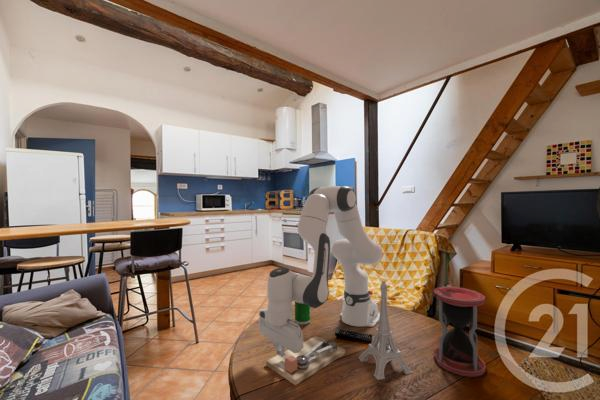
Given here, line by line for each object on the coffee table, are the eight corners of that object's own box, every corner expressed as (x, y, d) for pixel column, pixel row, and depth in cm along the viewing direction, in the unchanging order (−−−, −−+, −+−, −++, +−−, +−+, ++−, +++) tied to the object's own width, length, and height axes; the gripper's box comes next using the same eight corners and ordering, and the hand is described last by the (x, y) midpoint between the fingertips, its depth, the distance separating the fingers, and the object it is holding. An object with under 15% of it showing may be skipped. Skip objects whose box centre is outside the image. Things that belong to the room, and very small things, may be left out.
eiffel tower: (377, 380, 90) (377, 287, 90) (358, 358, 103) (357, 277, 103) (412, 373, 94) (412, 284, 94) (389, 352, 107) (389, 274, 107)
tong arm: (303, 369, 92) (303, 363, 92) (294, 365, 95) (294, 359, 95) (329, 345, 108) (329, 339, 108) (320, 342, 110) (320, 337, 110)
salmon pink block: (291, 365, 95) (291, 355, 95) (297, 369, 93) (297, 358, 93) (284, 369, 93) (284, 358, 93) (290, 373, 90) (290, 362, 90)
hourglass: (460, 348, 109) (459, 284, 109) (497, 373, 93) (497, 298, 93) (424, 353, 106) (423, 287, 106) (456, 380, 90) (456, 302, 90)
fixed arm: (300, 371, 92) (300, 364, 92) (292, 365, 96) (292, 358, 96) (340, 352, 103) (340, 346, 103) (331, 347, 107) (331, 341, 107)
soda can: (309, 326, 129) (308, 300, 129) (293, 324, 130) (293, 299, 131) (311, 319, 136) (311, 295, 136) (296, 318, 138) (296, 294, 138)
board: (315, 339, 116) (315, 335, 116) (345, 353, 106) (345, 349, 106) (266, 365, 98) (266, 360, 98) (295, 385, 87) (295, 379, 87)
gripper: (307, 321, 92) (308, 363, 92) (269, 305, 107) (269, 341, 107) (293, 328, 88) (294, 371, 88) (255, 310, 103) (256, 347, 103)
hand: (280, 354), depth 98 cm, fingers closed
